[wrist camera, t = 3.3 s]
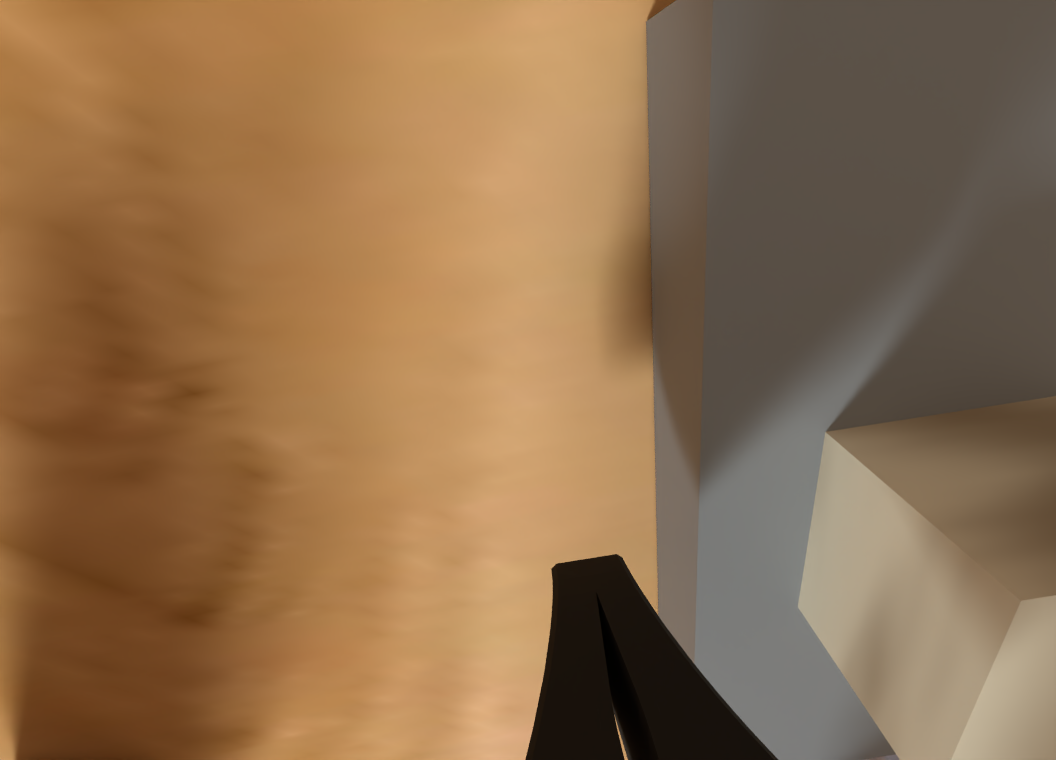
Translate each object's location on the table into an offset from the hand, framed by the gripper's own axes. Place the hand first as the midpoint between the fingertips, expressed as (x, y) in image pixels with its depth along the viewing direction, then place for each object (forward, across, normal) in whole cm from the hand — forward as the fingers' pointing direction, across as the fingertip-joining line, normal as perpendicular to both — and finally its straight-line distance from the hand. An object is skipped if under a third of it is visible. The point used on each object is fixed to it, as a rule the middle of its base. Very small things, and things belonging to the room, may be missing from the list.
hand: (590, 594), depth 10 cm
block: (+1, -8, 0) cm, 8 cm away
